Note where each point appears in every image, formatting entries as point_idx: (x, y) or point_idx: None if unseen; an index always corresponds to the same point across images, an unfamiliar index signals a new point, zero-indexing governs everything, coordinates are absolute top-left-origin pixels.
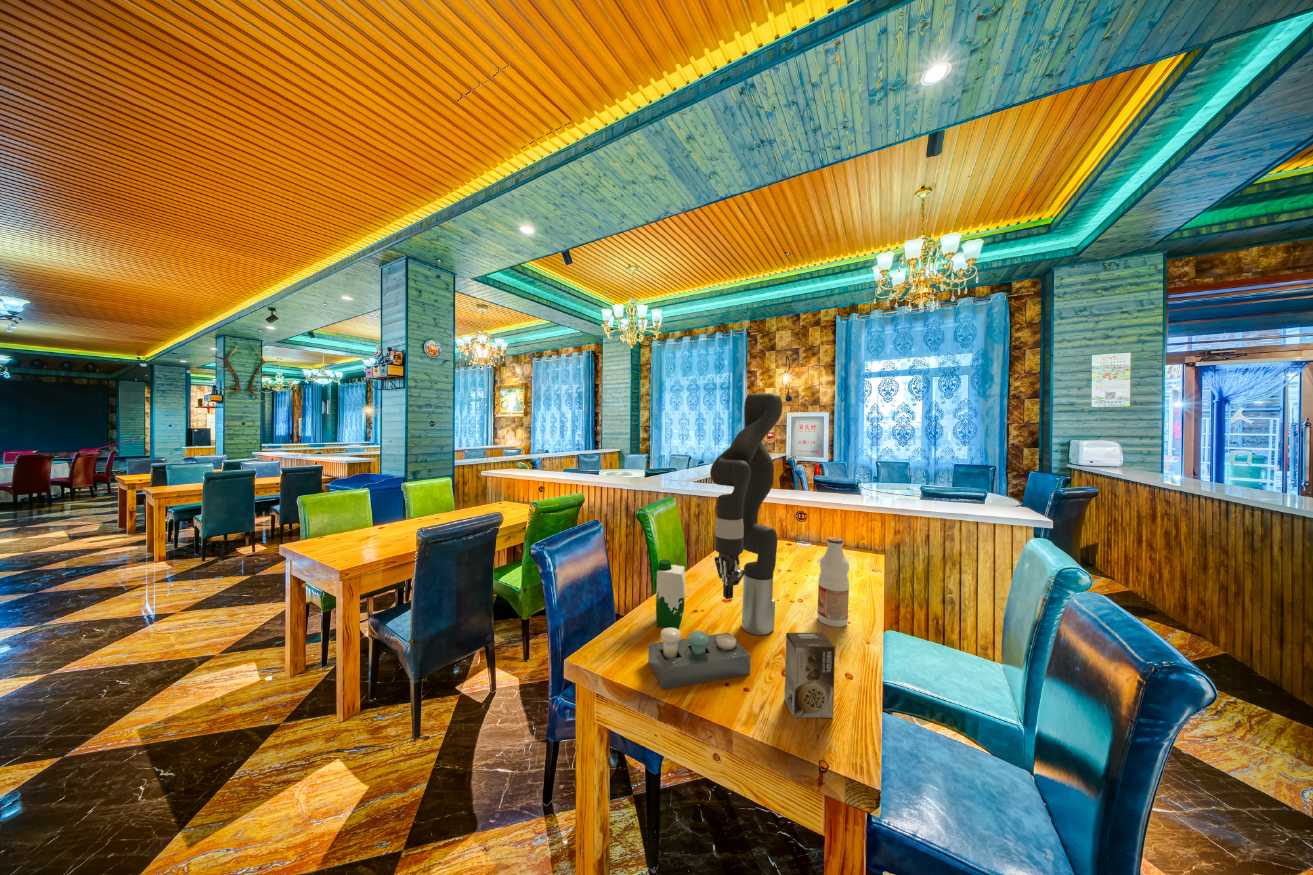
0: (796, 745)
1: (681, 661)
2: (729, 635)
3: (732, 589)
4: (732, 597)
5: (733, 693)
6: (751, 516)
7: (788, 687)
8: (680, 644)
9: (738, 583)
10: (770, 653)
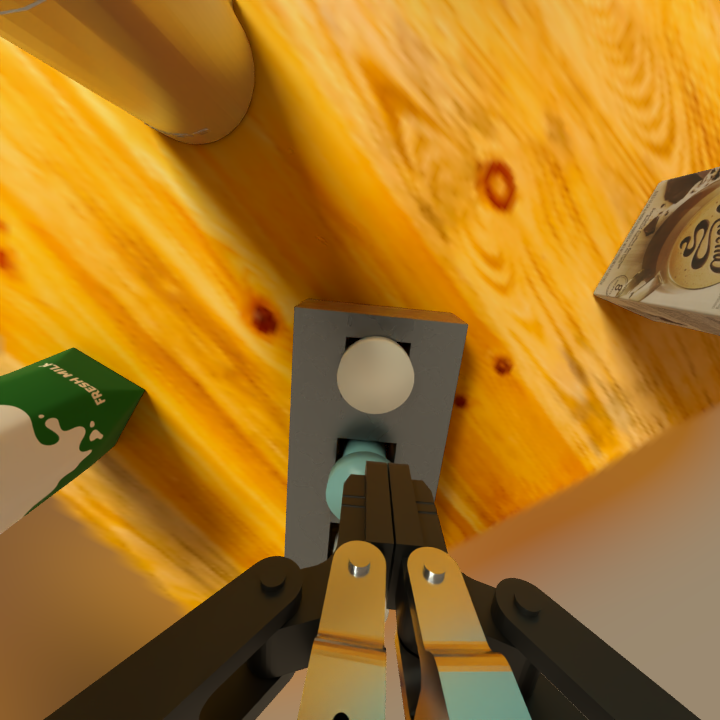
0: (716, 380)
1: None
2: (357, 351)
3: (440, 537)
4: (407, 466)
5: (499, 406)
6: None
7: (663, 315)
8: (317, 501)
9: (560, 609)
10: (380, 155)
